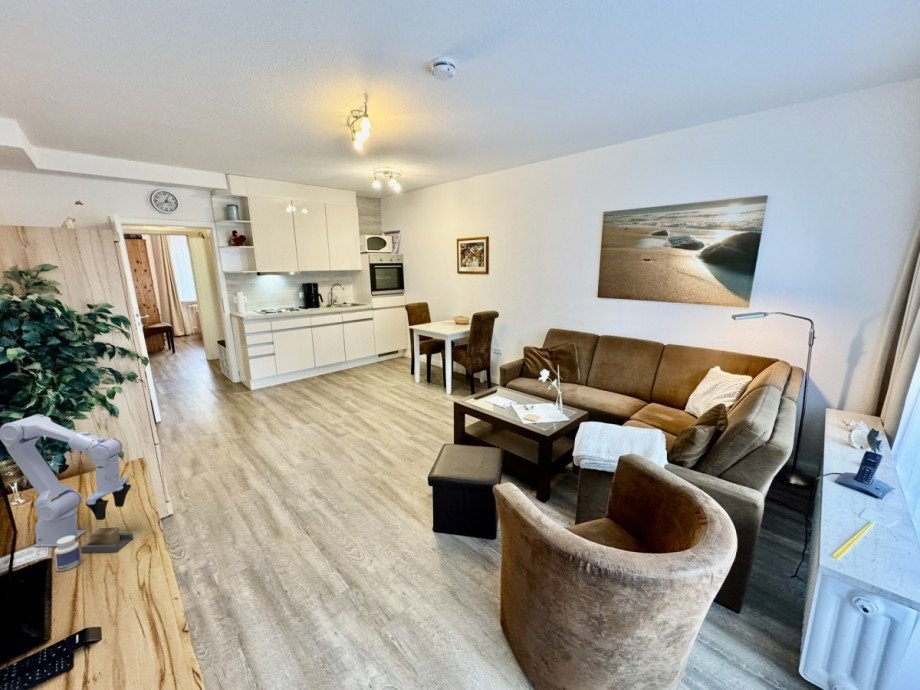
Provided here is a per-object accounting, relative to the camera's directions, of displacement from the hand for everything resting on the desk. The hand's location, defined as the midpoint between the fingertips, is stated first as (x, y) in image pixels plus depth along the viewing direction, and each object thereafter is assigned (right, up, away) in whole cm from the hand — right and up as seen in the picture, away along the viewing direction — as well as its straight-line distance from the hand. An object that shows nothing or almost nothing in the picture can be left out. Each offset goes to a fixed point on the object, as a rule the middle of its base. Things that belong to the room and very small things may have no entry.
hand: (110, 512), depth 127 cm
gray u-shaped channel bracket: (+1, -10, -2) cm, 11 cm away
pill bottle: (-2, -12, -12) cm, 16 cm away
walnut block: (+1, -10, -2) cm, 10 cm away
